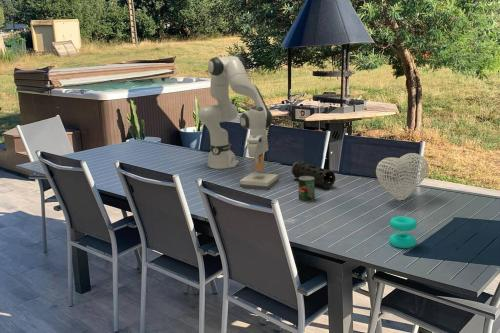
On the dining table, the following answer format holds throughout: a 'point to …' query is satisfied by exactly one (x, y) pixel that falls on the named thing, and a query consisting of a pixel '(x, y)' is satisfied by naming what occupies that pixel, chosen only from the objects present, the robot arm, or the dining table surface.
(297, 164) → the muzzle brake
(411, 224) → the donuts
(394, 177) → the heart
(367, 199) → the dining table surface
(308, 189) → the canned tomato
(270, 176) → the socket block
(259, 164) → the plug
